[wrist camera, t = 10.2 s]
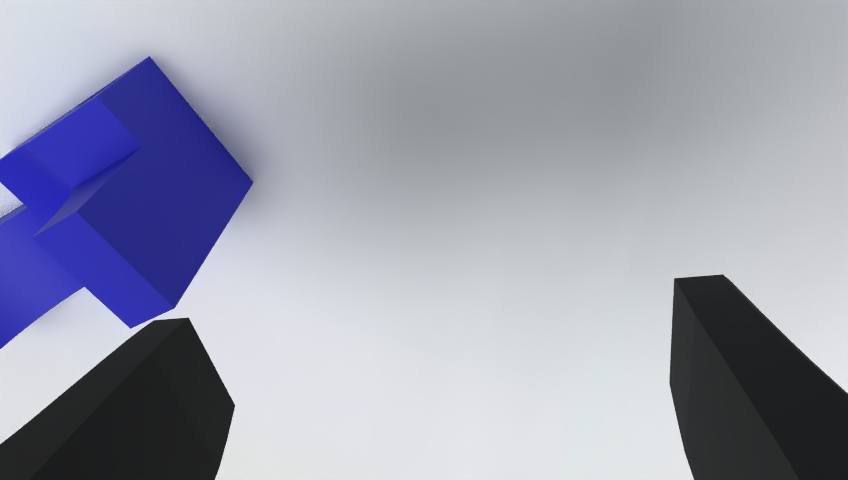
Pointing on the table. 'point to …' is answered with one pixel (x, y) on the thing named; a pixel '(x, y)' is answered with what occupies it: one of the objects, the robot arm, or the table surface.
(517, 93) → the table surface
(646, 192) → the table surface
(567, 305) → the table surface
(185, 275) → the cable clip
